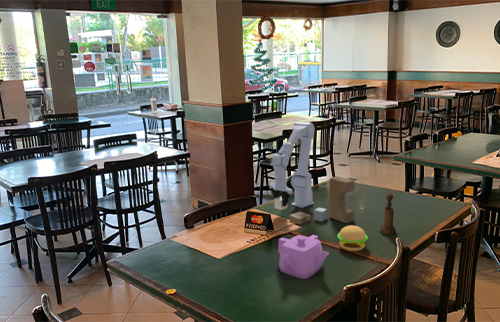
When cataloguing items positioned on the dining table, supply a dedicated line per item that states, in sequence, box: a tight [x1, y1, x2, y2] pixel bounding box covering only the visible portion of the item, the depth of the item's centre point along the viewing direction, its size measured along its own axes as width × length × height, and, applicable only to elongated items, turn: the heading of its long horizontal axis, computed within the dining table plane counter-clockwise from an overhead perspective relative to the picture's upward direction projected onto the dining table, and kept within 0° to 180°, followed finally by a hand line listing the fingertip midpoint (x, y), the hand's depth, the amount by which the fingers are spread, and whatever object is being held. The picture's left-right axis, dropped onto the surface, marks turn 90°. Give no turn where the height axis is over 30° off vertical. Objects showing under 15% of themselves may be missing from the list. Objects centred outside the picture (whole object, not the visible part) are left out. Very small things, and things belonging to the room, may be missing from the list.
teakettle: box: [277, 234, 330, 280], centre depth 154 cm, size 17×17×12 cm
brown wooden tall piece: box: [379, 192, 397, 236], centre depth 183 cm, size 7×6×18 cm
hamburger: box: [337, 225, 368, 252], centre depth 171 cm, size 12×12×9 cm
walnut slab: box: [289, 211, 311, 225], centre depth 202 cm, size 7×7×3 cm
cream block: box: [273, 196, 288, 211], centre depth 207 cm, size 4×4×5 cm
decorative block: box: [328, 176, 356, 224], centre depth 199 cm, size 11×6×20 cm, turn 37°
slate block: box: [313, 207, 328, 222], centre depth 202 cm, size 4×4×5 cm
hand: (281, 204), depth 208 cm, fingers closed on cream block, 4 cm apart
